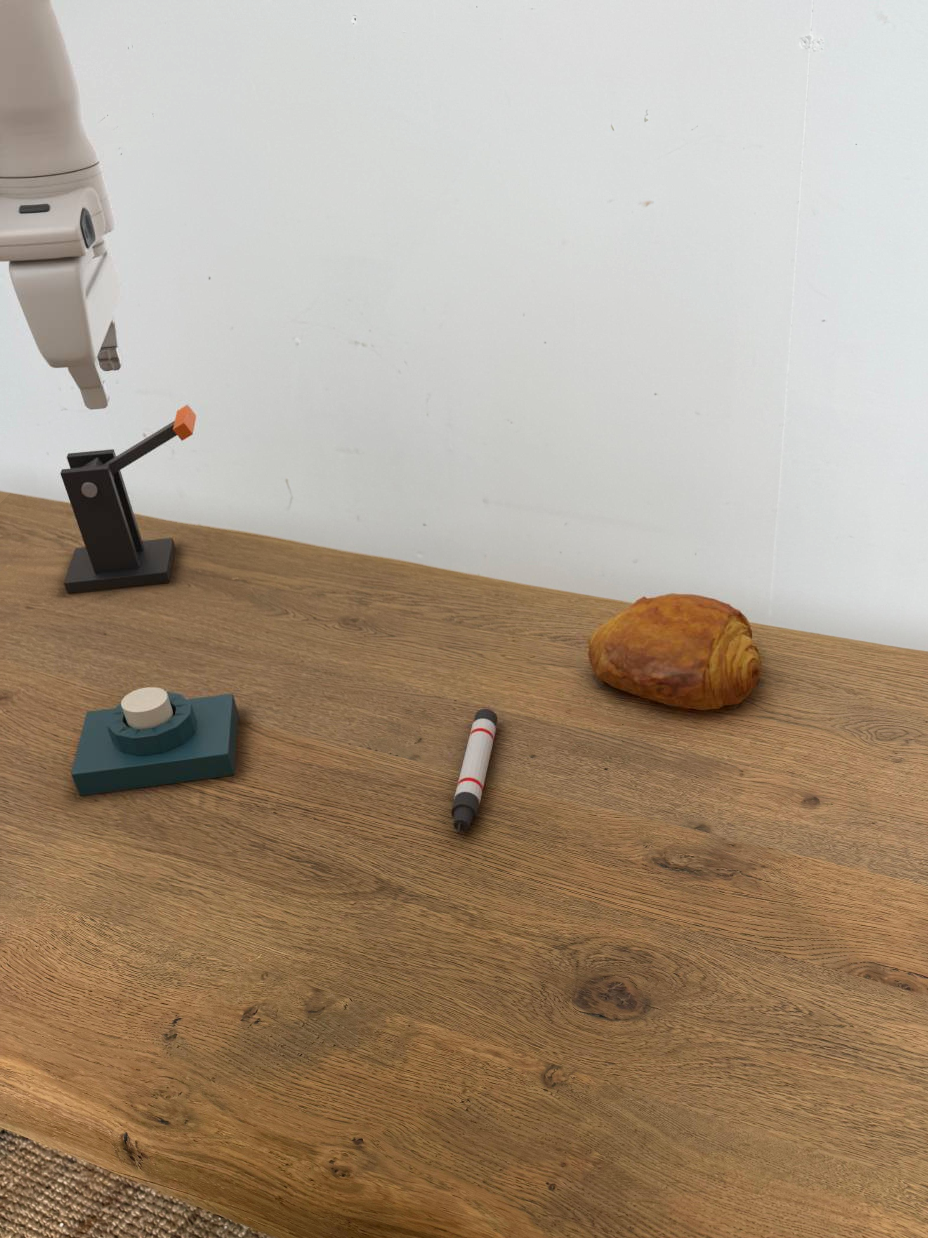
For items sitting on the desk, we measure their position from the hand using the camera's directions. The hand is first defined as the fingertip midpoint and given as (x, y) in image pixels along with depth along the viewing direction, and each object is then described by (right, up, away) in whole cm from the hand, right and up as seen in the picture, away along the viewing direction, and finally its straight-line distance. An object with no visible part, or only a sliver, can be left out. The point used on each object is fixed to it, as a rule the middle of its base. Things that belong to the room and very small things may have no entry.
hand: (106, 386), depth 101 cm
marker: (+33, -35, -7) cm, 48 cm away
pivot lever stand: (-8, -11, +22) cm, 26 cm away
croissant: (+50, -24, +5) cm, 55 cm away
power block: (+6, -32, -3) cm, 33 cm away
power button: (+6, -29, -5) cm, 30 cm away
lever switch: (-3, -1, +16) cm, 16 cm away
